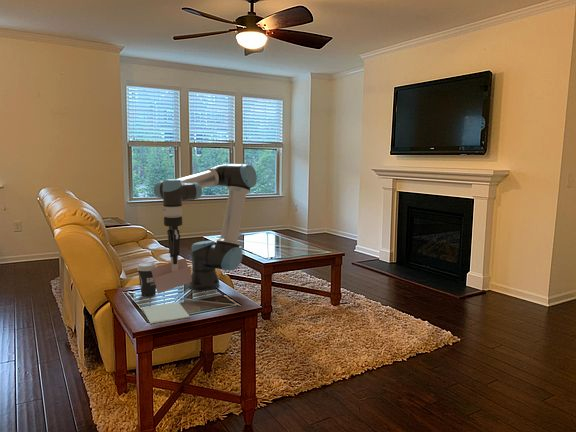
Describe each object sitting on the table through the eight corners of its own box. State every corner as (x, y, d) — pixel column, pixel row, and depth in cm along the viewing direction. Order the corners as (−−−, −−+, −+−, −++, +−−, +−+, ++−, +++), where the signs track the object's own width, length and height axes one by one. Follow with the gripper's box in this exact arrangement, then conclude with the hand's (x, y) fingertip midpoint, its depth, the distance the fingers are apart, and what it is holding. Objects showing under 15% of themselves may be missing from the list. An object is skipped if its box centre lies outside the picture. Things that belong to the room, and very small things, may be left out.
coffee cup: (142, 298, 209) (141, 267, 207) (135, 293, 216) (133, 263, 214) (162, 294, 215) (160, 264, 213) (154, 290, 222) (152, 260, 220)
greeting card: (157, 293, 189) (191, 281, 195) (160, 298, 182) (195, 286, 188) (150, 268, 186) (185, 257, 192) (153, 273, 179) (189, 261, 185)
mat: (142, 308, 196) (142, 307, 196) (178, 303, 203) (178, 302, 203) (150, 324, 178) (150, 323, 178) (189, 317, 186) (189, 316, 185)
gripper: (160, 214, 191) (162, 268, 194) (167, 218, 179) (169, 275, 182) (178, 213, 194) (179, 266, 197) (185, 217, 183) (187, 273, 186)
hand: (174, 270), depth 190 cm, fingers closed
